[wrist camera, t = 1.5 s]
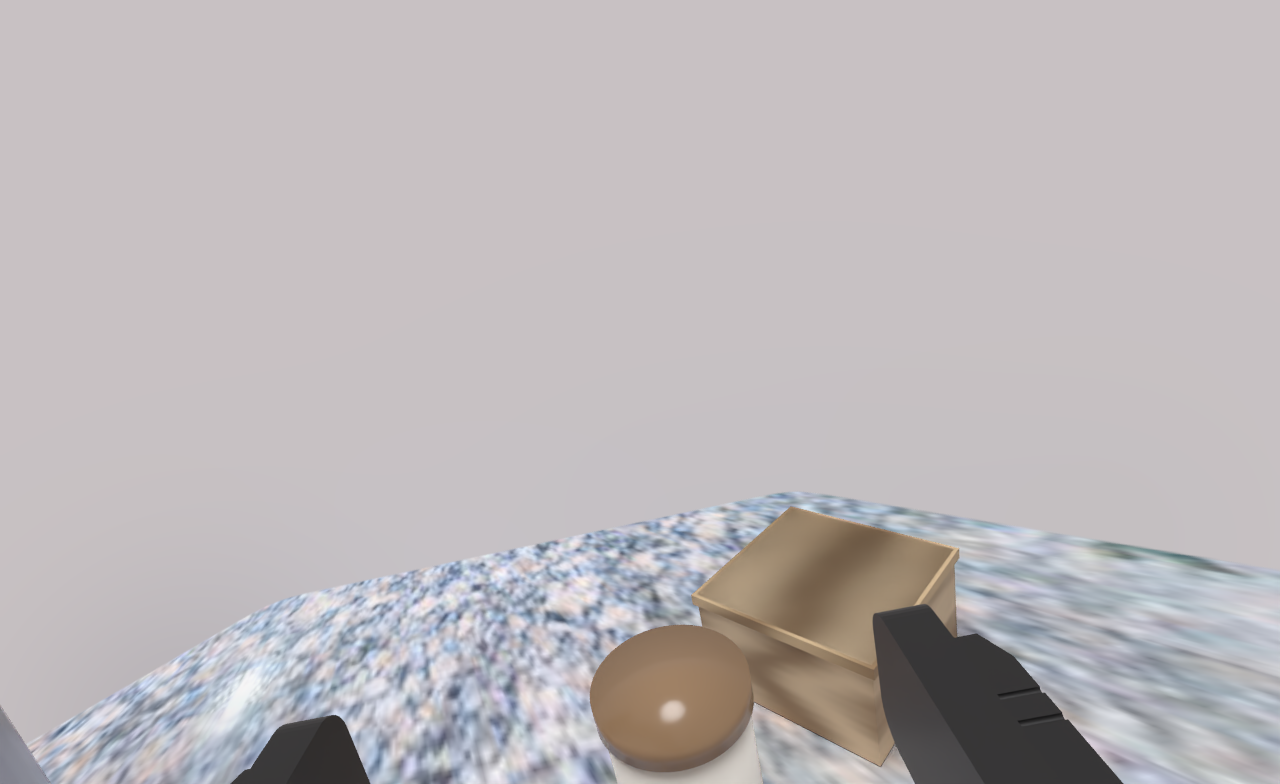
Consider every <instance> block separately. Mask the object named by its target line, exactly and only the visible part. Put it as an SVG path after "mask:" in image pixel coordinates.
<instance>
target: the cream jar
mask: <svg viewBox="0 0 1280 784" xmlns="http://www.w3.org/2000/svg"><path fill="white" fill-rule="evenodd" d="M590 704H591V709H592V713H593V716H594V720H595V724H596V727H597V731H598V734H599V736H600V739H601V740H602V742H603V744H604V745H605V747H606V748H607V749H608V750H609V753H610V757H611V761H612V765H613V768H614V772H615V776H616V779H617V783H618V784H763V780H762V774H761V768H760V762H759V756H758V751H757V745H756V739H755V733H754V727H753V722H752V716H751V715H752V711H753V705H754V695H753V689H752V683H751V677H750V671H749V666H748V663H747V660H746V658H745V656H744V654H743V652H742V651H741V650H740V648H739V647H738V646H737V645H736V644H735V643H734V642H733V641H732V640H730V639H729V638H727V637H726V636H724V635H723V634H721V633H719V632H717V631H714V630H711V629H708V628H704V627H700V626H693V625H671V626H664V627H659V628H655V629H651V630H648V631H645V632H643V633H640V634H638V635H636V636H634V637H632V638H630V639H628V640H627V641H625V642H624V643H622V644H621V645H619V646H618V647H617V648H615V649H614V650H613V651H612V652H611V653H610V654H609V655H608V656H607V657H606V658H605V659H604V661H603V662H602V663H601V665H600V666H599V668H598V669H597V671H596V673H595V675H594V678H593V681H592V684H591V689H590Z"/></svg>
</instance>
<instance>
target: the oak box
mask: <svg viewBox="0 0 1280 784" xmlns="http://www.w3.org/2000/svg"><path fill="white" fill-rule="evenodd" d="M958 559H959V548H955V547H951V546H947V545H943V544H939V543H935V542H931V541H927V540H923V539H919V538H915V537H911V536H907V535H903V534H899V533H895V532H891V531H887V530H883V529H879V528H875V527H871V526H867V525H863V524H859V523H855V522H851V521H847V520H843V519H839V518H835V517H831V516H827V515H823V514H819V513H815V512H811V511H807V510H803V509H799V508H795V507H790V508H789V509H787V510H786V511H785V512H784V513H783V514H782V515H781V516H780V517H778V518H777V519H776V520H775V521H774V522H773V523H772V524H771V525H770V526H768V527H767V528H766V529H765V530H764V531H763V532H762V533H761V534H759V535H758V536H757V537H756V538H755V539H754V540H753V541H752V542H750V543H749V544H748V545H747V546H746V547H745V548H744V549H743V550H741V551H740V552H739V553H738V554H737V555H736V556H735V557H734V558H732V559H731V560H730V561H729V562H728V563H727V564H726V565H725V566H724V567H722V568H721V569H720V570H719V571H718V572H717V573H716V574H715V575H713V576H712V577H711V578H710V579H709V580H708V581H707V582H706V583H704V584H703V585H702V586H701V587H700V588H699V589H698V590H697V591H695V592H694V593H693V594H692V595H691V596H692V602H693V604H694V605H696V606H698V607H699V611H700V616H701V621H702V627H704V628H708V629H711V630H714V631H717V632H719V633H721V634H723V635H724V636H726V637H727V638H729V639H730V640H732V641H733V642H734V643H735V644H736V645H737V646H738V647H739V648H740V650H741V651H742V652H743V654H744V656H745V658H746V660H747V663H748V666H749V671H750V677H751V683H752V689H753V695H754V702H756V703H758V704H760V705H762V706H763V707H765V708H767V709H769V710H771V711H773V712H775V713H777V714H779V715H781V716H783V717H785V718H787V719H789V720H791V721H793V722H795V723H797V724H798V725H800V726H802V727H804V728H806V729H808V730H810V731H812V732H814V733H816V734H818V735H820V736H822V737H824V738H826V739H828V740H830V741H832V742H833V743H835V744H837V745H839V746H841V747H843V748H845V749H847V750H849V751H851V752H853V753H855V754H857V755H859V756H861V757H863V758H865V759H867V760H868V761H870V762H872V763H874V764H876V765H878V766H880V767H881V765H882V764H883V762H884V760H885V759H886V757H887V755H888V754H889V752H890V750H891V749H892V747H893V745H894V743H895V742H894V739H893V737H892V734H891V732H890V729H889V726H888V723H887V719H886V716H885V712H884V708H883V703H882V698H881V690H880V682H879V674H878V665H877V657H876V649H875V641H874V633H873V615H874V614H875V613H879V612H884V611H889V610H894V609H900V608H905V607H910V606H915V605H920V604H927V605H928V606H930V607H931V608H932V610H933V611H934V612H935V613H936V615H937V616H938V617H939V619H940V620H941V621H942V623H943V624H944V625H945V627H946V628H947V629H948V630H949V632H950V633H951V634H952V636H953V637H954V638H956V637H957V623H956V597H955V570H954V565H955V563H956V562H957V560H958Z"/></svg>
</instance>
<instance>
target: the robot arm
mask: <svg viewBox="0 0 1280 784" xmlns="http://www.w3.org/2000/svg"><path fill="white" fill-rule="evenodd" d="M873 633H874V641H875V649H876V657H877V665H878V674H879V682H880V690H881V698H882V703H883V708H884V712H885V716H886V719H887V723H888V726H889V729H890V732H891V734H892V737H893V739H894V742H895V744H896V746H897V748H898V750H899V752H900V754H901V756H902V758H903V760H904V762H905V764H906V766H907V768H908V770H909V772H910V774H911V776H912V778H913V780H914V782H915V784H1123V783H1122V782H1121V780H1120V779H1119V778H1118V777H1117V776H1116V775H1115V773H1114V772H1113V771H1112V770H1111V769H1110V768H1109V767H1108V765H1107V764H1106V763H1105V762H1104V761H1103V760H1102V758H1101V757H1100V756H1099V755H1098V754H1097V753H1096V751H1095V750H1094V749H1093V748H1092V747H1091V746H1090V744H1089V743H1088V742H1087V741H1086V740H1085V739H1084V737H1083V736H1082V735H1081V734H1080V733H1079V732H1078V731H1077V729H1076V728H1075V727H1074V726H1073V725H1072V724H1071V722H1070V721H1069V720H1065V719H1064V717H1063V715H1062V712H1061V711H1060V710H1059V708H1058V707H1057V706H1056V705H1055V704H1054V703H1053V702H1052V700H1051V699H1050V698H1049V697H1048V696H1047V695H1046V693H1042V692H1041V690H1040V686H1039V685H1038V684H1037V683H1036V682H1035V681H1034V679H1033V678H1032V677H1031V676H1030V675H1029V674H1028V672H1027V671H1026V670H1025V669H1024V668H1023V667H1022V666H1021V664H1020V663H1019V662H1018V661H1017V660H1016V659H1015V657H1014V656H1012V655H1011V654H1009V653H1008V652H1006V651H1004V650H1003V649H1001V648H999V647H998V646H996V645H994V644H993V643H991V642H990V641H988V640H986V639H985V638H983V637H981V636H980V635H978V634H972V635H967V636H961V637H956V638H954V637H953V636H952V634H951V633H950V632H949V630H948V629H947V628H946V627H945V625H944V624H943V623H942V621H941V620H940V619H939V617H938V616H937V615H936V613H935V612H934V611H933V610H932V608H931V607H930V606H928V605H927V604H920V605H915V606H910V607H905V608H900V609H894V610H889V611H884V612H879V613H875V614H874V615H873ZM0 784H51V783H50V781H49V780H48V778H47V777H46V775H45V774H44V772H43V770H42V769H41V767H40V766H39V764H38V763H37V761H36V760H35V758H34V756H33V755H32V753H31V752H30V750H29V749H28V747H27V746H26V744H25V743H24V741H23V739H22V738H21V736H20V735H19V734H18V732H17V730H16V729H15V727H14V725H13V724H12V722H11V721H10V719H9V718H8V716H7V715H6V713H5V712H4V710H3V708H2V707H1V705H0ZM231 784H370V782H369V779H368V777H367V774H366V772H365V770H364V767H363V765H362V762H361V760H360V758H359V755H358V753H357V750H356V748H355V746H354V743H353V741H352V738H351V736H350V734H349V731H348V729H347V726H346V724H345V722H344V721H343V720H342V719H341V718H340V717H339V716H336V715H331V716H326V717H320V718H315V719H310V720H305V721H299V722H294V723H289V724H285V725H283V726H281V727H279V728H278V729H277V730H276V731H275V733H274V734H273V735H272V737H271V738H270V740H269V741H268V743H267V744H266V746H265V747H264V749H263V750H262V752H261V753H260V755H259V756H258V758H257V759H256V761H255V763H254V764H253V766H252V767H251V769H247V770H244V771H243V772H242V773H241V774H240V775H239V776H238V777H237V778H236V779H235V780H234V781H233V782H232V783H231Z"/></svg>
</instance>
